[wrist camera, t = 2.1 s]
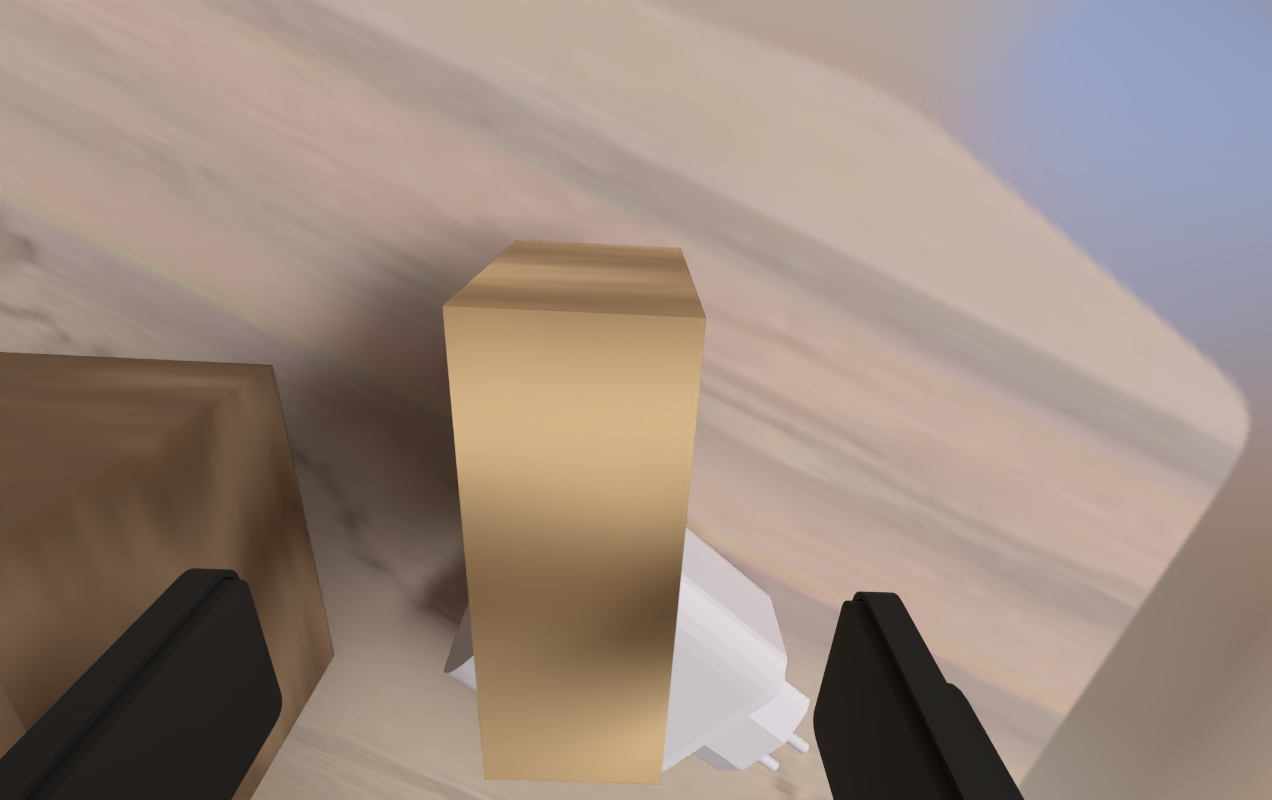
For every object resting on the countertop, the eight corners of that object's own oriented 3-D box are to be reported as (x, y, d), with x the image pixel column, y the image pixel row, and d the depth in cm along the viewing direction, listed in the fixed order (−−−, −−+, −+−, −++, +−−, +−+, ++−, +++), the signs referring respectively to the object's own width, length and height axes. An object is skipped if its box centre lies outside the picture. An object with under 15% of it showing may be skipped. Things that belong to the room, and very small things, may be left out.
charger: (708, 754, 30) (470, 592, 26) (856, 658, 27) (617, 458, 23) (719, 859, 26) (436, 685, 21) (897, 758, 23) (612, 534, 19)
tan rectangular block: (651, 507, 24) (661, 785, 14) (550, 503, 24) (484, 778, 14) (670, 220, 19) (706, 317, 9) (545, 214, 19) (442, 306, 9)
